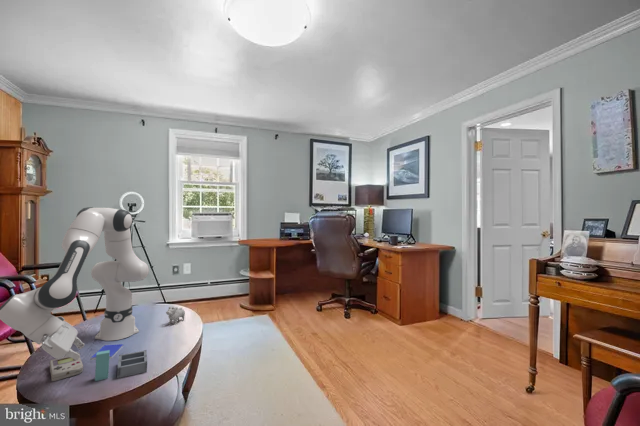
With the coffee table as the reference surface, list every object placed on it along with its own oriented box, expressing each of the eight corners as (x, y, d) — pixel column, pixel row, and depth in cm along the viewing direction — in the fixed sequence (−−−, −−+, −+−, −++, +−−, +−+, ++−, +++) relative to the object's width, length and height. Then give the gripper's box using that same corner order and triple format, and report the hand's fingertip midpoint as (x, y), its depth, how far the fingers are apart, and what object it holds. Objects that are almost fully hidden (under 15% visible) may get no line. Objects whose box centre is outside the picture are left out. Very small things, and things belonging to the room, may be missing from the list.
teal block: (95, 377, 112) (97, 352, 112) (108, 375, 114) (109, 349, 114) (94, 381, 110) (96, 354, 110) (107, 378, 112) (109, 352, 112)
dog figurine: (162, 326, 165) (163, 307, 165) (178, 318, 177) (179, 301, 177) (170, 327, 163) (171, 308, 164) (186, 319, 176) (186, 302, 176)
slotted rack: (118, 364, 122) (119, 355, 122) (145, 359, 127) (146, 350, 127) (116, 378, 112) (117, 368, 112) (146, 371, 117) (147, 362, 117)
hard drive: (111, 356, 127) (123, 344, 139) (90, 357, 125) (103, 345, 137) (111, 359, 127) (123, 347, 139) (89, 361, 125) (103, 348, 137)
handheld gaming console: (52, 374, 108) (49, 359, 118) (51, 383, 108) (49, 367, 118) (83, 365, 114) (78, 352, 125) (83, 374, 114) (78, 360, 125)
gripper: (48, 333, 96) (84, 356, 101) (62, 314, 113) (92, 335, 118) (29, 349, 93) (66, 372, 98) (46, 328, 110) (77, 348, 115)
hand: (80, 352), depth 108 cm, fingers open, 8 cm apart
